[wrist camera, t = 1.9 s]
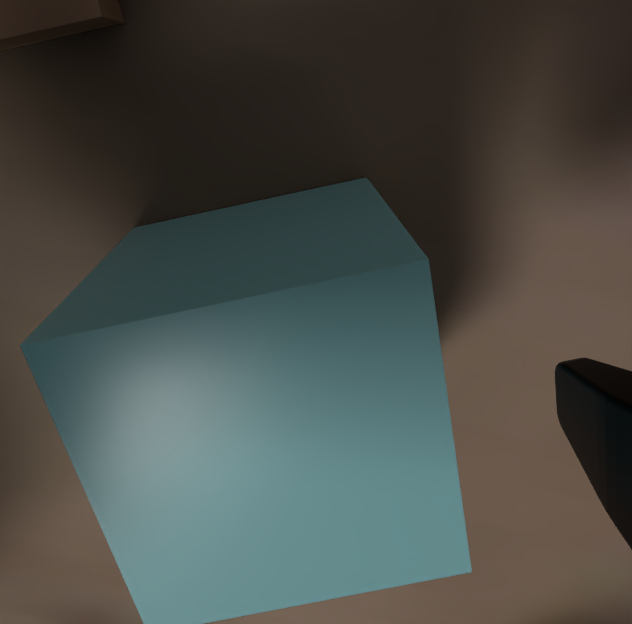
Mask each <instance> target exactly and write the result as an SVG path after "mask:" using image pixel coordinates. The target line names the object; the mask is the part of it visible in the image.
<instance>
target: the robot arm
mask: <svg viewBox="0 0 632 624" xmlns="http://www.w3.org/2000/svg"><path fill="white" fill-rule="evenodd" d="M555 385H556V404H557V414H558V419H559V422H560V425H561V427H562V429H563V431H564V433H565V435H566V437H567V438H568V440H569V442H570V444H571V446H572V448H573V450H574V452H575V454H576V456H577V457H578V459H579V461H580V463H581V465H582V467H583V469H584V471H585V473H586V475H587V476H588V478H589V480H590V482H591V484H592V486H593V488H594V490H595V492H596V494H597V495H598V497H599V499H600V501H601V503H602V505H603V506H604V508H605V510H606V512H607V513H608V515H609V516H610V518H611V520H612V521H613V523H614V524H615V526H616V527H617V529H618V530H619V532H620V533H621V535H622V536H623V537H624V539H625V540H626V542H627V543H628V545H629V546H630V548H631V549H632V371H629V370H625V369H622V368H619V367H615V366H612V365H609V364H605V363H602V362H599V361H595V360H592V359H589V358H578V359H573V360H568V361H563V362H560V363H558V365H557V366H556V369H555Z"/></svg>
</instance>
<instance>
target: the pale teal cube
mask: <svg viewBox="0 0 632 624" xmlns="http://www.w3.org/2000/svg"><path fill="white" fill-rule="evenodd" d="M20 347H21V349H22V351H23V353H24V356H25V358H26V360H27V362H28V365H29V367H30V369H31V371H32V374H33V376H34V378H35V380H36V383H37V385H38V387H39V389H40V392H41V394H42V396H43V398H44V401H45V403H46V405H47V407H48V410H49V412H50V414H51V416H52V419H53V421H54V423H55V425H56V428H57V430H58V432H59V434H60V437H61V439H62V441H63V443H64V445H65V448H66V450H67V452H68V454H69V457H70V459H71V461H72V463H73V466H74V468H75V470H76V472H77V475H78V477H79V479H80V481H81V484H82V486H83V488H84V490H85V493H86V495H87V497H88V499H89V502H90V504H91V506H92V508H93V511H94V513H95V515H96V517H97V520H98V522H99V524H100V526H101V529H102V531H103V533H104V535H105V538H106V540H107V542H108V544H109V547H110V549H111V551H112V553H113V555H114V558H115V560H116V562H117V564H118V567H119V569H120V571H121V573H122V576H123V578H124V580H125V582H126V585H127V587H128V589H129V591H130V594H131V596H132V598H133V600H134V603H135V605H136V607H137V609H138V612H139V614H140V616H141V618H142V621H143V623H144V624H203V623H208V622H214V621H219V620H224V619H229V618H234V617H240V616H245V615H250V614H255V613H260V612H266V611H271V610H276V609H281V608H287V607H292V606H297V605H302V604H307V603H313V602H318V601H323V600H328V599H334V598H339V597H344V596H349V595H354V594H360V593H365V592H370V591H375V590H380V589H386V588H391V587H396V586H401V585H407V584H412V583H417V582H422V581H427V580H433V579H438V578H443V577H448V576H453V575H459V574H464V573H469V572H472V570H471V563H470V555H469V548H468V541H467V534H466V526H465V519H464V512H463V505H462V497H461V490H460V483H459V476H458V468H457V461H456V454H455V447H454V439H453V432H452V425H451V417H450V410H449V403H448V396H447V388H446V381H445V374H444V367H443V359H442V352H441V345H440V338H439V330H438V323H437V316H436V309H435V301H434V294H433V287H432V280H431V272H430V265H429V259H428V258H427V256H426V255H425V254H424V252H423V251H422V250H421V248H420V247H419V246H418V245H417V243H416V242H415V241H414V239H413V238H412V237H411V235H410V234H409V233H408V231H407V230H406V229H405V227H404V226H403V225H402V223H401V222H400V221H399V219H398V218H397V217H396V215H395V214H394V213H393V211H392V210H391V209H390V207H389V206H388V205H387V203H386V202H385V201H384V200H383V198H382V197H381V196H380V194H379V193H378V192H377V190H376V189H375V188H374V186H373V185H372V184H371V182H370V181H369V180H368V178H367V177H365V178H361V179H356V180H352V181H347V182H342V183H338V184H333V185H328V186H324V187H319V188H315V189H310V190H305V191H301V192H296V193H291V194H287V195H282V196H278V197H273V198H268V199H264V200H259V201H254V202H250V203H245V204H240V205H236V206H231V207H227V208H222V209H217V210H213V211H208V212H203V213H199V214H194V215H190V216H185V217H180V218H176V219H171V220H166V221H162V222H157V223H153V224H148V225H143V226H139V227H134V228H133V229H132V230H131V231H130V232H129V233H128V234H127V235H126V236H125V237H124V238H123V239H122V240H121V241H120V243H119V244H118V245H117V246H116V247H115V248H114V249H113V250H112V251H111V252H110V253H109V254H108V255H107V256H106V257H105V258H104V259H103V260H102V261H101V262H100V263H99V264H98V265H97V266H96V267H95V268H94V269H93V270H92V271H91V272H90V274H89V275H88V276H87V277H86V278H85V279H84V280H83V281H82V282H81V283H80V284H79V285H78V286H77V287H76V288H75V289H74V290H73V291H72V292H71V293H70V294H69V295H68V296H67V297H66V298H65V299H64V300H63V301H62V302H61V303H60V305H59V306H58V307H57V308H56V309H55V310H54V311H53V312H52V313H51V314H50V315H49V316H48V317H47V318H46V319H45V320H44V321H43V322H42V323H41V324H40V325H39V326H38V327H37V328H36V329H35V330H34V331H33V332H32V333H31V334H30V336H29V337H28V338H27V339H26V340H25V341H24V342H23V343H22V344H21V345H20Z"/></svg>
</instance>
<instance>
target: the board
mask: <svg viewBox="0 0 632 624" xmlns="http://www.w3.org/2000/svg"><path fill="white" fill-rule="evenodd" d="M121 23H125V22H124V19H123V15H122V12H121V9H120V5H119V2H118V0H0V51H3V50H8V49H12V48H16V47H21V46H25V45H29V44H34V43H38V42H43V41H47V40H51V39H56V38H60V37H64V36H69V35H73V34H78V33H82V32H86V31H91V30H95V29H99V28H104V27H108V26H113V25H117V24H121Z"/></svg>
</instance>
